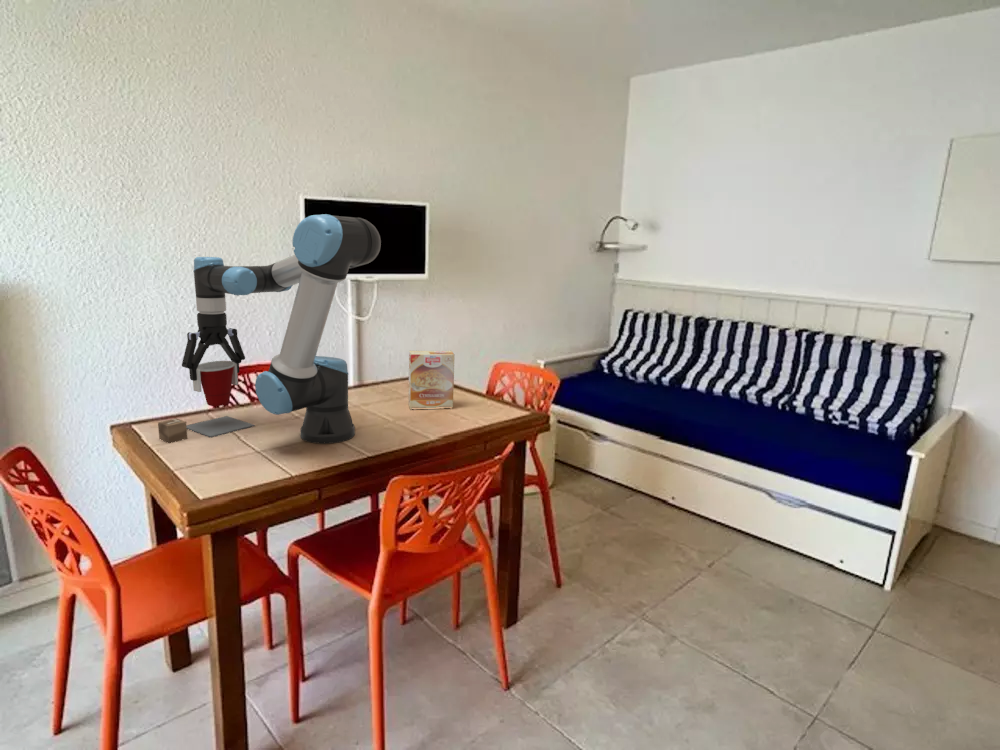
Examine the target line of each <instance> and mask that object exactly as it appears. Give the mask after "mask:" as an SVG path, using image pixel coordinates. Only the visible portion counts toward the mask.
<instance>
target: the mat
mask: <svg viewBox="0 0 1000 750" xmlns="http://www.w3.org/2000/svg"><path fill="white" fill-rule="evenodd" d="M252 426H253V427H255V424H253V423H251V422H247V421H244V420H240V419H237V418H234V417H231V416H228V415H226V416H221V417H220V416H219V417H216V418H212V419H207V420H204V421H200V422H195V423H191V424H186V428H187V430H188V429H189V430H188V431H190V430H192V431H191V432H193V431H194V432H193V433H196V432H197V433H196V434H199V433H200V435H202V436H204V435H205V437H207V436H208V438H210V437H211V438H215V437H218V435H219V436H222V434H223V435H226V434H229V432H230V433H233V431H234V432H238V431H241V429H242V430H245V429H249V428H252ZM237 430H238V431H237ZM214 436H215V437H214Z"/></svg>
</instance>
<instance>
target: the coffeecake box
mask: <svg viewBox="0 0 1000 750" xmlns="http://www.w3.org/2000/svg"><path fill="white" fill-rule="evenodd" d="M454 378H455V354H454V352H453V351H452V350H409V351H408V407H409V410H410V409H412V408H436V407H454V383H455V379H454Z"/></svg>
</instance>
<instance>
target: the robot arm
mask: <svg viewBox="0 0 1000 750" xmlns="http://www.w3.org/2000/svg"><path fill="white" fill-rule="evenodd" d="M381 243H382V240H381V235H380V233H379V231H378V229H377V228H376V226H375V225H374V224H372V223H371V222H370V221H368V220H367V219H364V218H362V217H355V216H354V217H353V216H342V215H341V216H339V215H331V214H327V213H325V214H323V213H322V214H313V215H308V216H307V217H304V218H303V219H302V220H301V221H300V222H299V223H298V224H297V226H296V228H295V229H294V232H293V236H292V247H293V248H294V249H293V253H294V255H291V256H289V257H287V258H284V259H281V260H279V261H276V262H273V263H270V264H269V265H247V266H245V265H244V266H242V265H238V266H237V265H235V266H234V265H233V266H230V265H225V264H224V259H223V258H222V257H217V256H197V257H195V258H194V259H193V278H194V280H193V281H194V291H195V300H196V301H195V303H196V311H197V314H196V320H197V327H198V330H197V332H190V331H188V332H187V334H186V336H187V338H186V339H187V343H186V347H185V350H184V354H183V358H182V362H181V366H182V368H186V369H188V370H189V380H190V381H192V383H193V384H192V385H193V387H192V389H193V391H194V392H198V393H202V392H203V390H202V384H201V376H200V369H197V367H198V365H199V364H201V361H202V360H203V357H204V355H205V354H206V352H207V350H208V348H209V347H210V346H214V345H219V346H221V348H222V349H223V351H224V353H226V355H227V357H228V358H229V359H230V361H232V362H234V363H235V365H234V369H233V375H232V384H231V385H232V386H233V385H234V386H238V385H239V380H238V379H239V377H238V376H239V375H238V374H239V373H240V364H241V363H242V361H243V360H245V359H246V356H245V353H244V350H243V347H242V345H241V342H240V340H239V338H238V337H239V336H238V329H236V328H233V327H230V328H227V324H228V321H227V319H228V318H227V313H226V311H227V304H226V303H227V302H226V301H227V300H226V294H228V295H234V296H248V295H251V294H259V293H282V292H286V291H290V290H291V289H292V287H293V286H295V285H297V289H296V294H295V297H294V301H293V304H292V309H291V311H290V315H289V319H288V322H287V326H286V330H285V333H284V338H283V341H282V344H281V349H280V353H279V354H276V355H274V356H273V357H272V359H271V362H270V365H269V368H268V371H267V370H264V371H263V372H261V373H259V374H258V375H257V377H256V378H255V384H254V385H255V386H254V387H255V393H256V396H257V399H258V401H259V402H260V404H261V406H262V407H263V408H264V409H265V410H266V411H267V412H269V413H270V414H273V415H284V414H290V413H292V412H295V411H299V410H302V409H306V410H305V414H304V418H303V420H302V421H303V422H302V424H301V426H300V427H301V428H300V431H299V432H300V439H302V440H303V441H305V442H308V443H313V444H337V443H340V442H341V443H342V442H345V441H348V440H350V439H352V438H353V437H354V436H355V433H356V428H355V425H354V422H353V419H352V416H351V413H350V411H349V371H348V363H347V361H346V360H345V359H343V358H339V357H333V356H323V355H321V356H320V355H317V352H318V350H319V346H320V343H321V340H322V337H323V334H324V330H325V326H326V322H327V320H328V317H329V314H330V309H331V306H332V303H333V300H334V296H335V293H336V289H337V287H338V284H339V283H340V282H342V281H343V282H344V281H345V280H346V279H347V276H348V272H349V269H354V268H357V267H361V266H364V265H368V264H369V263H371V262H373V261H374V260H375V259H376V258H377V257H378V256H379V253H380V251H381V245H382V244H381ZM227 336H228V338H229V341H230V344H231V345H230V344H229V341H228V340H227V338H226V337H227ZM199 338H200V339H199ZM198 340H199V342H197V341H198ZM231 346H232V347H231ZM196 347H197V348H196Z"/></svg>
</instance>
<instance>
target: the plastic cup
mask: <svg viewBox="0 0 1000 750" xmlns="http://www.w3.org/2000/svg"><path fill="white" fill-rule="evenodd" d="M234 365H235V363H234V362H232V361H231V360H213V361H208V362H203V363H199V365H198V367H197V369H200V376H201V389H202V392H203V394H204V397H205V402H206V404H207V406H210V407H222V406H226V405H228V404H229V403H230V397H231V392H232V385H233V384H232V375H233V369H234Z"/></svg>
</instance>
